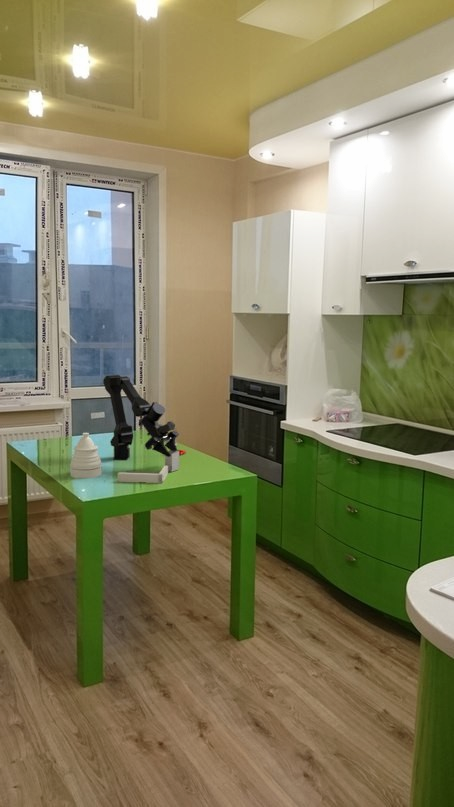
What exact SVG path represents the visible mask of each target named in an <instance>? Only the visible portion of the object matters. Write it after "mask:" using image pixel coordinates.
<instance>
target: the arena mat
mask: <svg viewBox="0 0 454 807" xmlns="http://www.w3.org/2000/svg"><path fill="white" fill-rule="evenodd" d="M124 473H152V474H159V473H160V471H159V472H158V471H157V472H156V471H133V470H132V471H129V470H126V471H125V472H124Z"/></svg>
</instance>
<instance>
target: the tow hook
mask: <svg viewBox="0 0 454 807" xmlns="http://www.w3.org/2000/svg"><path fill="white" fill-rule="evenodd" d="M174 428H175V429H174V431H177V428H176V427H174ZM177 438H178V436H177V437H176V438H175V445H176V448H177V451H179V456H183V455H184V454H186V453H187V452H186V450H184V449H178V444H177V442H178V441H177V440H178V439H177ZM169 451H171V450H170V449H169Z"/></svg>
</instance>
